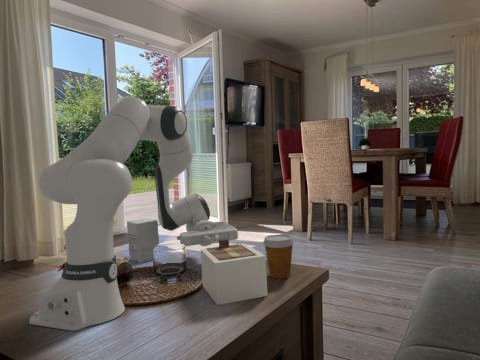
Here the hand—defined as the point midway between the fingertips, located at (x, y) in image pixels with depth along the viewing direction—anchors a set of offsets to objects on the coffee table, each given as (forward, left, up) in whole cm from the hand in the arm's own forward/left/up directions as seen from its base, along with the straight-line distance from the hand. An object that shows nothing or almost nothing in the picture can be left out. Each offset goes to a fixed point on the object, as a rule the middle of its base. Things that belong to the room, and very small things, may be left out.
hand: (214, 241), depth 126 cm
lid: (+8, -15, -1) cm, 17 cm away
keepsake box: (+9, -17, -10) cm, 22 cm away
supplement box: (-33, +16, -11) cm, 38 cm away
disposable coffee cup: (+21, -3, -11) cm, 24 cm away
